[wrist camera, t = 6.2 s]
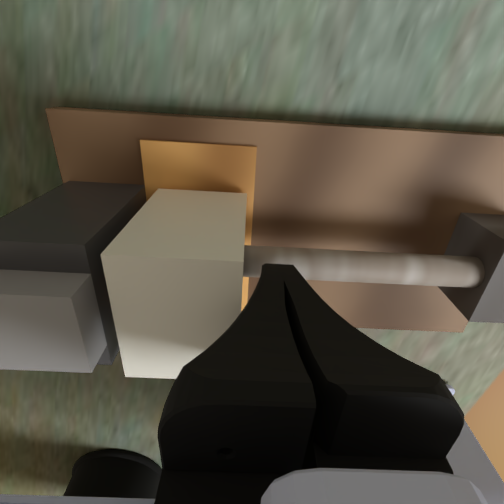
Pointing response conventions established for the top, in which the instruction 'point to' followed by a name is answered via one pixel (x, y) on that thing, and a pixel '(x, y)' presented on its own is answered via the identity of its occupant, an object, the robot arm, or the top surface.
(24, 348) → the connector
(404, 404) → the robot arm
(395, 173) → the rail board
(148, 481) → the aerosol can
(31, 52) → the top surface
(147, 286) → the sleeve
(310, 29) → the top surface
